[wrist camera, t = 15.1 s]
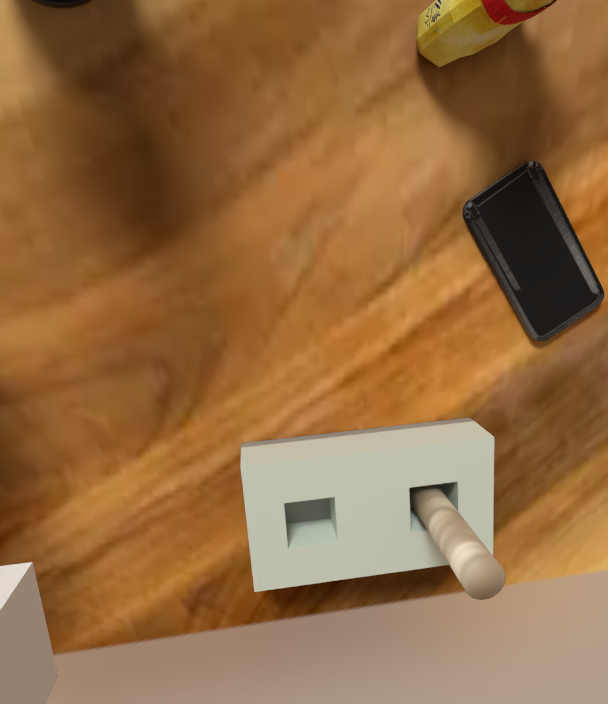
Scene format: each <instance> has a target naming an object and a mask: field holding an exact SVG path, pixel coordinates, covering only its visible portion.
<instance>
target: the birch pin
mask: <svg viewBox="0 0 608 704" xmlns="http://www.w3.org/2000/svg"><path fill="white" fill-rule="evenodd" d="M409 493H410V503H411V504H412V506H413V508H414V509H415V511H416V512H417V514H418V515H419V517H420V519H421V520H422V522H423V523H424V525H425V527H426V528H427V530H428V531H429V533H430V535H431V536H432V538H433V539H434V541H435V543H436V544H437V546H438V547H439V549H440V551H441V552H442V554H443V555H444V557H445V559H446V560H447V562H448V563H449V565H450V567H451V568H452V570H453V571H454V573H455V575H456V576H457V578H458V579H459V581H460V583H461V584H462V586H463V587H464V589H465V591H466V592H467V593H468V595H470V596H471V597H472V598H475V599H480V600H484V599H489V598H491V597H493V596H495V595H496V594H498V593H499V592H500V591H501V589H502V588H503V586H504V583H505V572H504V570H503V568H502V567H501V566H500V564H499V563H498V562H497V560H496V559H495V558H494V557H493V555H492V554H491V553H490V552H489V550H488V549H487V548H486V546H485V545H484V544H483V543H482V541H481V540H480V539H479V538H478V536H477V535H476V534H475V532H474V531H473V530H472V529H471V527H470V526H469V525H468V524H467V522H466V521H465V520H464V518H463V517H462V516H461V515H460V513H459V512H458V511H457V509H456V508H455V507H454V506H453V504H452V503H451V502H450V501H449V499H448V498H447V497H446V495H445V494H444V493H443V492H442V490H441V489H440V488H439V487H438V485H437V484H435V485H427V486H419V487H411V488H409Z"/></svg>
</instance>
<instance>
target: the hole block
mask: <svg viewBox="0 0 608 704" xmlns="http://www.w3.org/2000/svg"><path fill="white" fill-rule="evenodd" d="M241 475H242V484H243V493H244V502H245V511H246V520H247V529H248V538H249V547H250V556H251V565H252V574H253V583H254V592H258V591H265V590H272V589H279V588H287V587H294V586H301V585H308V584H315V583H322V582H329V581H337V580H344V579H351V578H358V577H365V576H372V575H379V574H387V573H394V572H401V571H408V570H415V569H422V568H430V567H437V566H444V565H449V563H448V562H447V560H446V559H445V557H444V555H443V554H442V552H441V551H440V549H439V547H438V546H437V544H436V543H435V541H434V539H433V538H432V536H431V535H430V533H429V531H428V530H427V528H426V527H425V525H424V523H423V522H422V520H421V519H420V517H419V515H418V514H417V512H416V511H415V509H414V508H413V506H412V504H411V503H410V493H409V488H411V487H419V486H427V485H435V484H437V485H438V487H439V488H440V489H441V490H442V492H443V493H444V494H445V495H446V497H447V498H448V499H449V501H450V502H451V503H452V504H453V506H454V507H455V508H456V509H457V511H458V512H459V513H460V515H461V516H462V517H463V518H464V520H465V521H466V522H467V524H468V525H469V526H470V527H471V529H472V530H473V531H474V532H475V534H476V535H477V536H478V538H479V539H480V540H481V541H482V543H483V544H484V545H485V546H486V548H487V549H488V550H489V552H490V553H491V554H492V555H493V506H494V437H493V436H492V435H491V434H490V433H488V432H487V431H486V430H485V429H483V428H482V427H481V426H480V425H478V424H477V423H476V422H475V421H473V420H472V419H471V418H461V419H452V420H443V421H435V422H426V423H417V424H408V425H399V426H390V427H381V428H373V429H364V430H355V431H346V432H337V433H328V434H319V435H311V436H302V437H293V438H284V439H275V440H266V441H258V442H249V443H241Z"/></svg>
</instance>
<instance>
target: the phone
mask: <svg viewBox="0 0 608 704" xmlns="http://www.w3.org/2000/svg"><path fill="white" fill-rule="evenodd" d="M463 217H464V220H465V222H466V223H467V225H468V227H469V229H470V231H471V233H472V234H473V236H474V238H475V240H476V242H477V244H478V246H479V248H480V249H481V252H482V254H483V255H484V257H485V259H486V260H487V261H488V263H489V265H490V267H491V269H492V270H493V272H494V274H495V276H496V278H497V279H498V281H499V283H500V285H501V287H502V289H503V290H504V292H505V294H506V296H507V298H508V299H509V301H510V303H511V305H512V307H513V308H514V310H515V312H516V314H517V316H518V317H519V319H520V321H521V323H522V325H523V326H524V328H525V330H526V332H527V334H528V335H529V337H530V338H532V339H534V340H537V341H546V340H548V339H550V338H551V337H553V336H554V335H556V334H557V333H559V332H560V331H562V330H563V329H565V328H566V327H568V326H569V325H571V324H572V323H574V322H575V321H577V320H578V319H580V318H581V317H582V316H584V315H585V314H587V313H588V312H590V311H591V310H593V309H594V308H596V307H597V306H599V305H600V304H601V302H602V301H603V298H604V290H603V288H602V286H601V284H600V282H599V280H598V278H597V276H596V274H595V272H594V270H593V268H592V266H591V264H590V262H589V260H588V258H587V256H586V254H585V252H584V250H583V248H582V246H581V244H580V241H579V239H578V237H577V235H576V233H575V231H574V229H573V227H572V225H571V223H570V221H569V219H568V217H567V215H566V213H565V211H564V209H563V207H562V205H561V203H560V201H559V199H558V197H557V195H556V193H555V191H554V189H553V187H552V185H551V183H550V181H549V179H548V177H547V175H546V173H545V171H544V169H543V167H542V166H541V164H539V163H538V162H535V161H529V162H526V163H523V164H521V165H519V166H518V167H517V168H515V169H514V170H512V171H511V172H509V173H508V174H506V175H505V176H503V177H502V178H500V179H499V180H498V181H496V182H495V183H493V184H492V185H490V186H489V187H487V188H486V189H484V190H483V191H481V192H480V193H479V194H477V195H476V196H474V197H473V198H471V199H470V200H468V201H467V202H466V203H465V205H464V207H463Z"/></svg>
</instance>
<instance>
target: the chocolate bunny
mask: <svg viewBox="0 0 608 704" xmlns="http://www.w3.org/2000/svg"><path fill="white" fill-rule="evenodd" d="M556 1H557V0H436V1H435V2H434V3H433V4H432V5H431V6H430V7H428V8H427V9H426V10H425V11H424V12H423V13H422V14H420V15H419V17H418V28H417V38H416V44H417V47H418V49H419V52H420V54H421V55H422V56H424V57H425V58H427V59H428V60H429V61H431V62H432V63H434V64H435V65H436V66H438V67H441V66H444V65H446V64H448V63H450V62H452V61H454V60H456V59H458V58H461V57H464V56H468V55H473V54H475V53H477V52H478V51H480V50H482V49H484V48H486V47H488V46H490V45H492V44H493V43H495V42H497V41H498V40H500V39H501V38H502V37H503V36H505V35H506V34H507V33H508V32H509V31H510V30H512V29H513V28H515V27H516V26H518V25H519V24H521V23H523V22H524V21H525V20H527V19H529V18H531V17H533V16H535V15H537V14H539V13H540V12H542V11H544V10H545V9H547V8H548V7H549V6H551V5H552V4H553V3H554V2H556ZM544 7H545V8H544Z"/></svg>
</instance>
